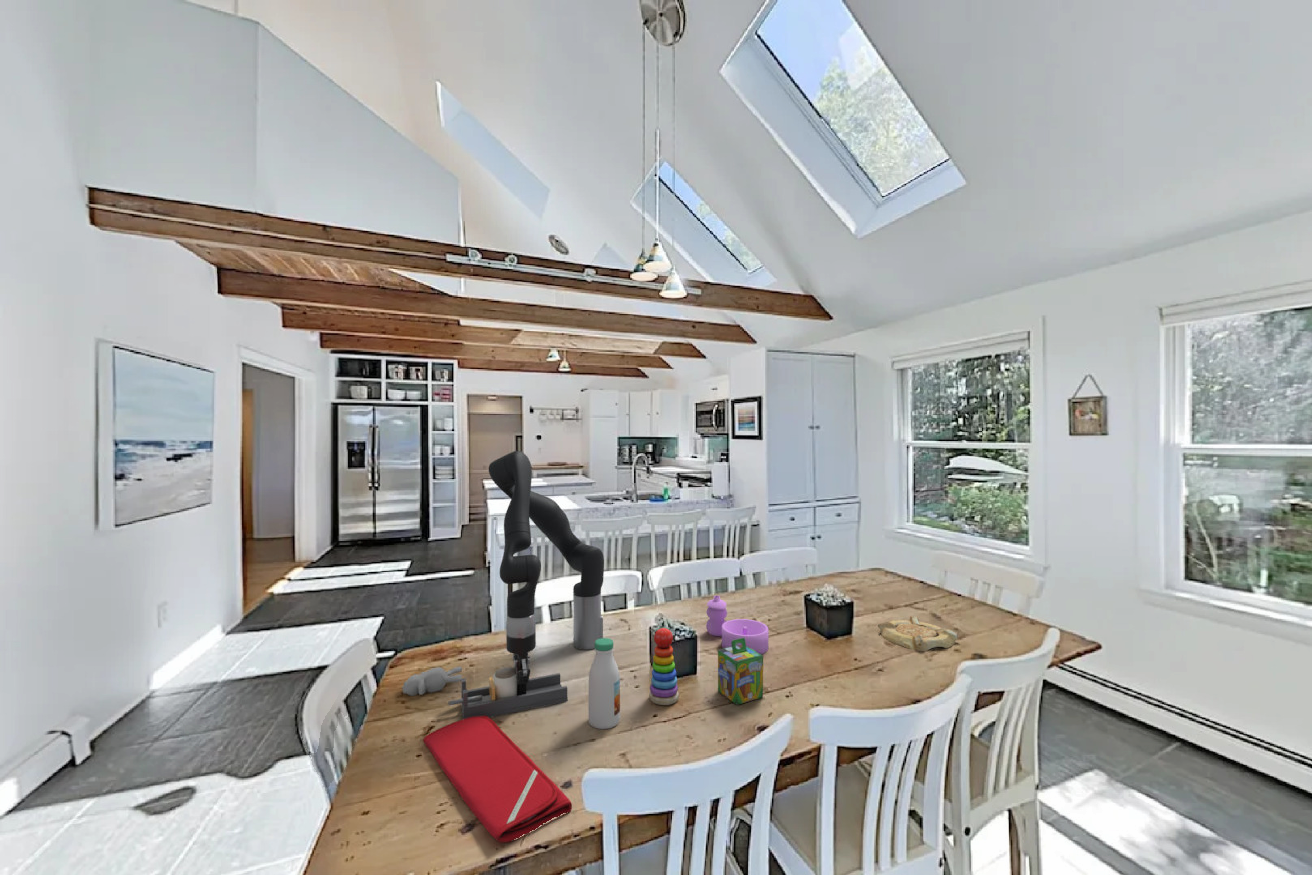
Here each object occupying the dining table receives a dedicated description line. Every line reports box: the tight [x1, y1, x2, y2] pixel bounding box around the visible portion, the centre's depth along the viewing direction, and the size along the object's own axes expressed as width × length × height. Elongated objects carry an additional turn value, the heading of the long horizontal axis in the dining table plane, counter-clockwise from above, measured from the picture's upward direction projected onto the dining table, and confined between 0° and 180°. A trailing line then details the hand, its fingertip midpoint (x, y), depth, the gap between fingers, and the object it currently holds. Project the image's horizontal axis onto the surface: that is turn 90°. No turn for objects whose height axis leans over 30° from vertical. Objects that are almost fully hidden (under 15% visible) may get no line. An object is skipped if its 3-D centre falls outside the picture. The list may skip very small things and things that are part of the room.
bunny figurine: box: [402, 666, 463, 696], centre depth 147 cm, size 10×5×15 cm
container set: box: [705, 595, 769, 655], centre depth 179 cm, size 25×15×13 cm, turn 36°
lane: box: [460, 672, 568, 720], centre depth 139 cm, size 26×10×7 cm, turn 113°
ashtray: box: [877, 615, 958, 652], centre depth 182 cm, size 24×24×5 cm
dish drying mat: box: [422, 715, 573, 843], centre depth 111 cm, size 16×41×4 cm, turn 40°
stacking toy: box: [648, 627, 680, 706], centre depth 141 cm, size 8×8×19 cm
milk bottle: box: [588, 637, 621, 730], centre depth 130 cm, size 8×8×20 cm
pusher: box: [448, 676, 495, 707], centre depth 135 cm, size 11×7×5 cm, turn 113°
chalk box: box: [717, 638, 764, 706], centre depth 143 cm, size 9×9×15 cm
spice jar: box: [492, 666, 517, 700], centre depth 138 cm, size 6×6×8 cm
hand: (521, 695), depth 140 cm, fingers closed
